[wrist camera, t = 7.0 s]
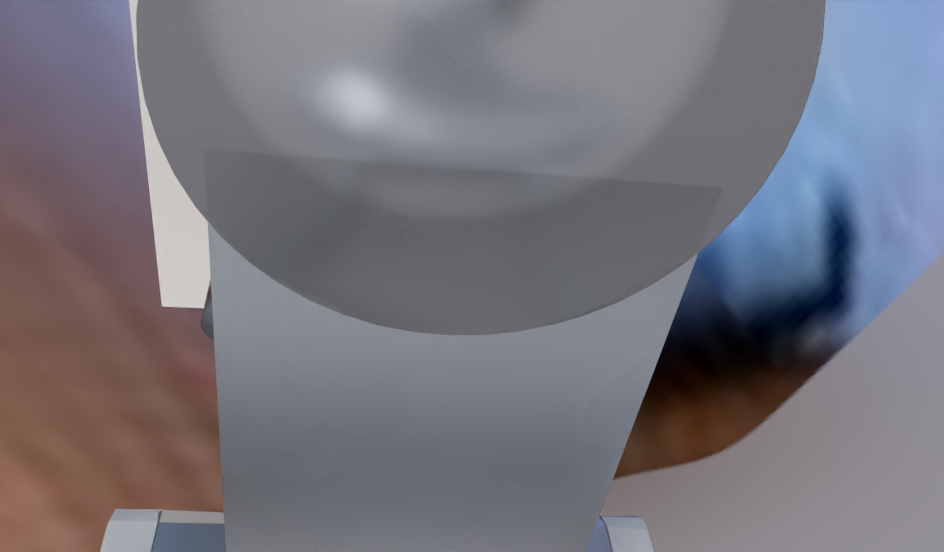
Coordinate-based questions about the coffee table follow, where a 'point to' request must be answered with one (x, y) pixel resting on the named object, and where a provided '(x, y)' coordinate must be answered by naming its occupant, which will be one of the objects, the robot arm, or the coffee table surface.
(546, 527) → the grey long cylinder
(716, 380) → the coffee table surface
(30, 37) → the coffee table surface
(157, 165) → the spanner rack
